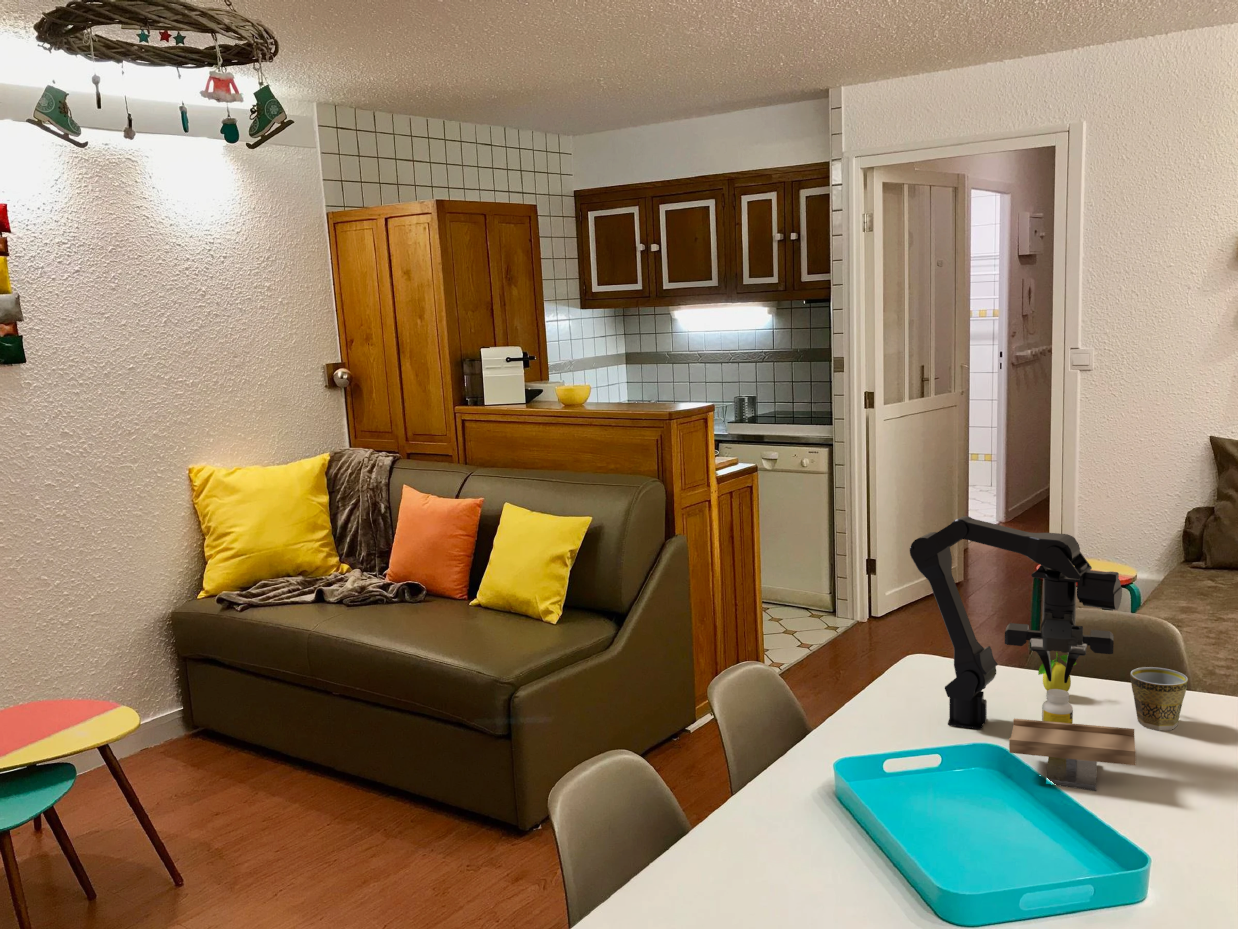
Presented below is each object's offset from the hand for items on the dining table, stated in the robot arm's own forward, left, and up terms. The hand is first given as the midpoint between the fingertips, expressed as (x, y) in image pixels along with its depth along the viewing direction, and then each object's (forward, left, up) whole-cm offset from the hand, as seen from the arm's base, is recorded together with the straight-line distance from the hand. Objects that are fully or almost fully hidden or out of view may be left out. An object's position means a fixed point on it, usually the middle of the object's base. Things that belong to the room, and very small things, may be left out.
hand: (1057, 681), depth 194 cm
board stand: (+3, -14, -12) cm, 19 cm away
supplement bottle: (0, 0, -12) cm, 12 cm away
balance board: (+3, -14, -7) cm, 16 cm away
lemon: (-1, +24, -12) cm, 27 cm away
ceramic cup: (+17, +16, -12) cm, 26 cm away
